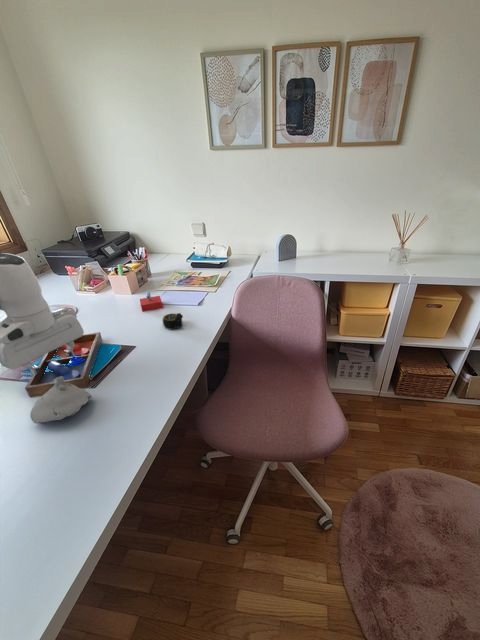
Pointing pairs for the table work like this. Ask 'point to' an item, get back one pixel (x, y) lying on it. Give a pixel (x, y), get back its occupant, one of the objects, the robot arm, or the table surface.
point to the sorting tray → (46, 381)
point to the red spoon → (77, 350)
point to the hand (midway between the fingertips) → (54, 363)
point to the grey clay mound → (59, 402)
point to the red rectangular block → (151, 303)
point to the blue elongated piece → (63, 370)
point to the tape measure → (172, 320)
